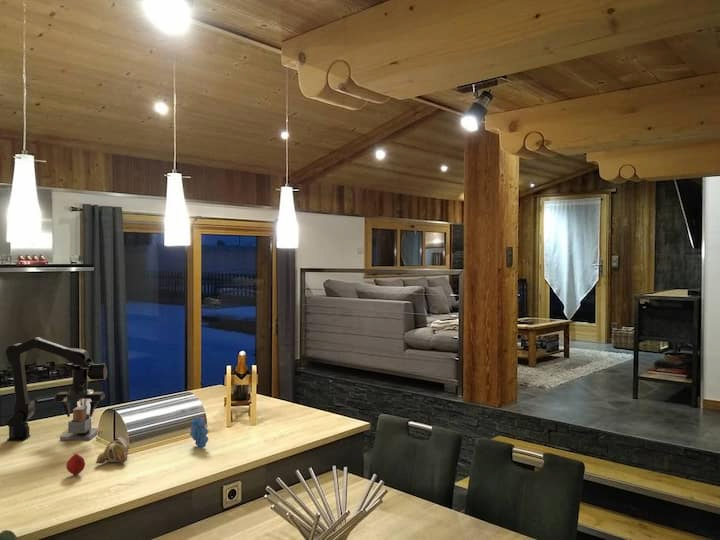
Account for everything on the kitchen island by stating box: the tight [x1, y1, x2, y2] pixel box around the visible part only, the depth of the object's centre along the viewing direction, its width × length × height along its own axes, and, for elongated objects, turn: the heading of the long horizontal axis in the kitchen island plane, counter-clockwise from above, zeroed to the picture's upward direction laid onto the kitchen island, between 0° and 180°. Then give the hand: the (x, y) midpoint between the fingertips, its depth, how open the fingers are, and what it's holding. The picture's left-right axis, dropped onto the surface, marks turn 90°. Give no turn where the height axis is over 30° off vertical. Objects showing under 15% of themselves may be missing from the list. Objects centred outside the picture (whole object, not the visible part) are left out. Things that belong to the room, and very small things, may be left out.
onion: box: [66, 452, 86, 476], centre depth 203 cm, size 6×6×8 cm
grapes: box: [189, 416, 209, 448], centre depth 235 cm, size 12×7×12 cm, turn 44°
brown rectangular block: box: [72, 406, 87, 422], centre depth 246 cm, size 4×4×9 cm
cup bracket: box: [59, 413, 99, 441], centre depth 247 cm, size 12×12×8 cm
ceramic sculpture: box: [95, 435, 130, 465], centre depth 218 cm, size 11×9×15 cm
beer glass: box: [76, 388, 95, 425], centre depth 264 cm, size 7×7×15 cm
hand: (79, 416), depth 246 cm, fingers open, 9 cm apart
